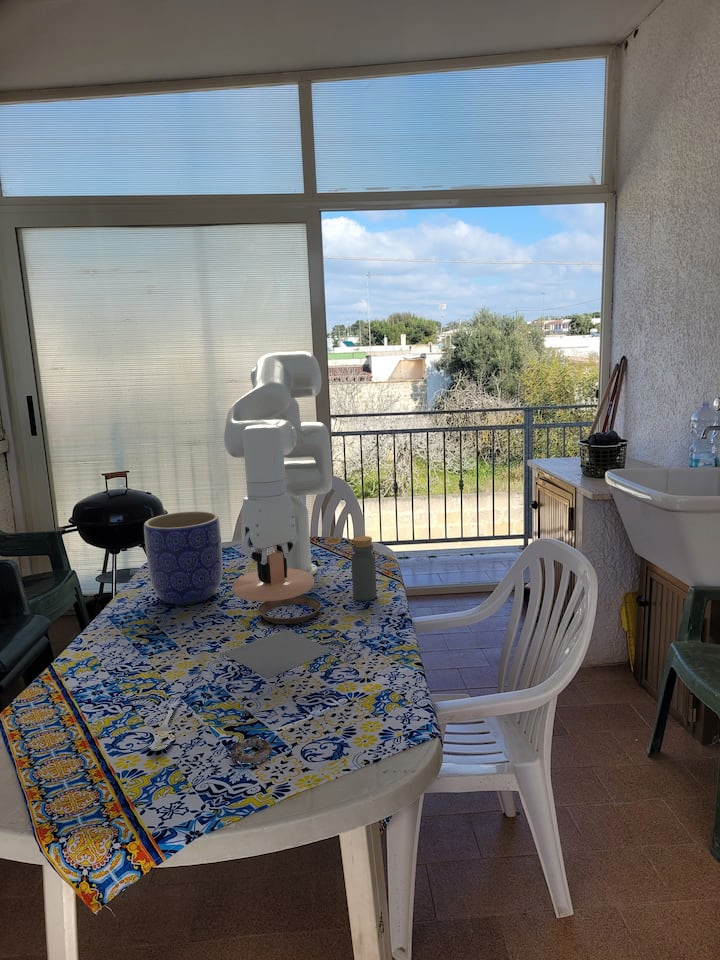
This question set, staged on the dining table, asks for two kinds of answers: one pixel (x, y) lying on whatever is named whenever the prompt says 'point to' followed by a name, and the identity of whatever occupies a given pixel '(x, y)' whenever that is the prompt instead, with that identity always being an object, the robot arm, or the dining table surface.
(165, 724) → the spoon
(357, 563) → the bottle
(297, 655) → the mat
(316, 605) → the brown ring
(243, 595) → the lid
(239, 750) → the donut
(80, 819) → the dining table surface
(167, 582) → the planter
